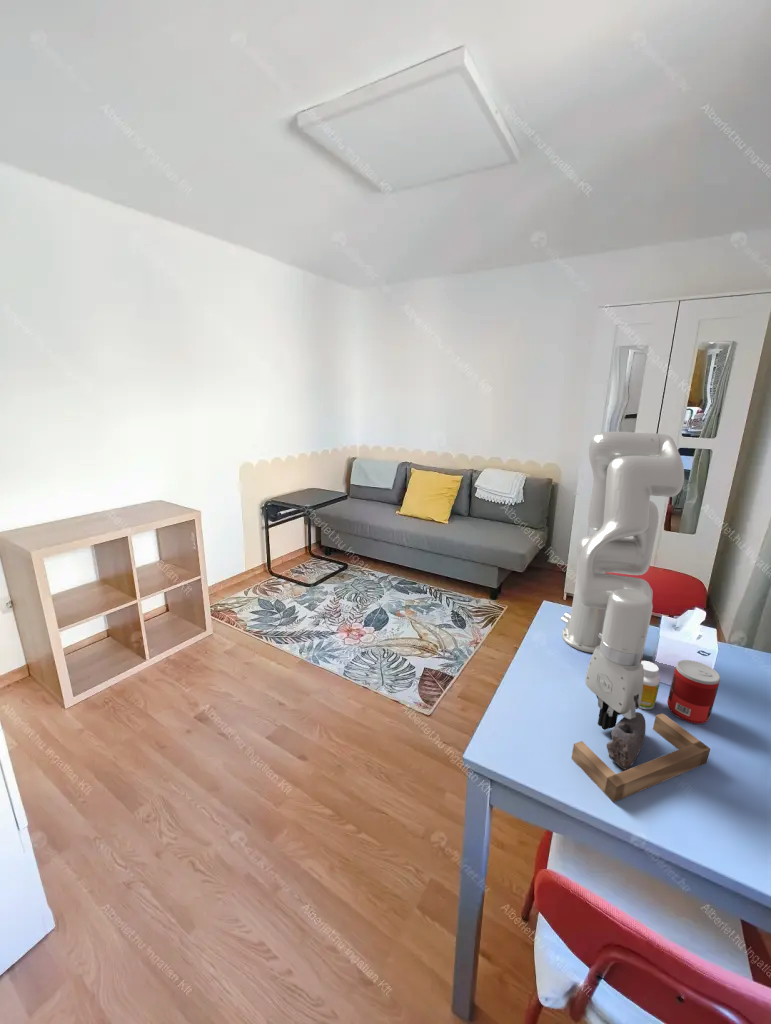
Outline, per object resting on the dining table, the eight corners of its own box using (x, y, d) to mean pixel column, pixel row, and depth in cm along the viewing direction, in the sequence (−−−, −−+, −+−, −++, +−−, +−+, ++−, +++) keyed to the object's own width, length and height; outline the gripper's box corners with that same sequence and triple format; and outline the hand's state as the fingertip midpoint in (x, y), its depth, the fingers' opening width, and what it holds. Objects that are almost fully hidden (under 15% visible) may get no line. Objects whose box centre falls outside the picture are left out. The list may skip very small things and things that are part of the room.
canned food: (715, 727, 94) (728, 684, 91) (674, 721, 95) (685, 678, 92) (699, 703, 101) (709, 662, 98) (661, 697, 102) (670, 657, 99)
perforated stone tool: (624, 723, 95) (630, 696, 93) (651, 736, 91) (658, 709, 89) (598, 763, 84) (604, 734, 82) (627, 780, 81) (634, 750, 79)
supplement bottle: (655, 713, 98) (664, 676, 95) (628, 705, 100) (636, 669, 97) (653, 698, 102) (661, 662, 99) (627, 691, 104) (634, 656, 102)
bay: (571, 758, 85) (573, 743, 84) (659, 726, 94) (662, 713, 93) (613, 802, 76) (616, 786, 75) (706, 763, 85) (710, 748, 84)
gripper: (578, 634, 92) (566, 706, 98) (639, 677, 79) (622, 758, 84) (605, 627, 95) (592, 698, 100) (669, 668, 81) (650, 747, 87)
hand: (606, 725), depth 92 cm, fingers closed
